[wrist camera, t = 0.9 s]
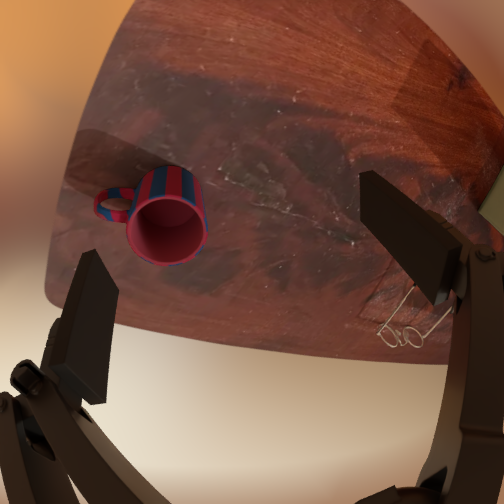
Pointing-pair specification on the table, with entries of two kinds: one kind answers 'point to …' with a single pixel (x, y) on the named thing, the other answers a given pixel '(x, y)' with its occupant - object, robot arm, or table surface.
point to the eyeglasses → (405, 327)
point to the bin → (495, 204)
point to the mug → (161, 216)
